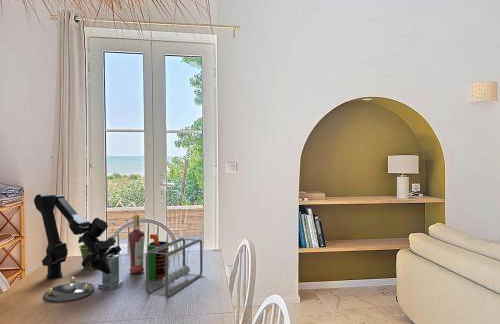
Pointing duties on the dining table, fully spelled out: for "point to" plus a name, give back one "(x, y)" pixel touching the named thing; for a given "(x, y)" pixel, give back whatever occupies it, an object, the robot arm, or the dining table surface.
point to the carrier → (69, 291)
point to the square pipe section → (111, 273)
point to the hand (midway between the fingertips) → (113, 271)
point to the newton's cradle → (179, 272)
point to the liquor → (136, 247)
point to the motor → (156, 259)
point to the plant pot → (85, 254)
